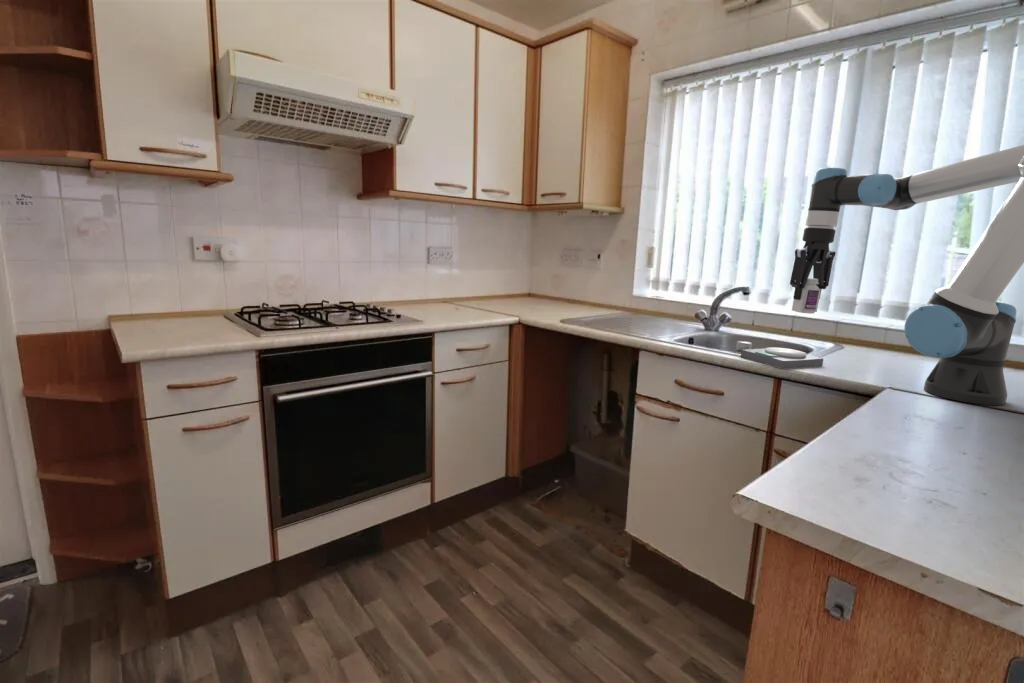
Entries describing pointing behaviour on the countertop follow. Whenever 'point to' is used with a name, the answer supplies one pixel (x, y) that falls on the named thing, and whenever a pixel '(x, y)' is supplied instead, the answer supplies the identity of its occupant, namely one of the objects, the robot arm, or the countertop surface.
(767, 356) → the scale
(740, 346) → the spacer
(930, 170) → the robot arm
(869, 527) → the countertop surface
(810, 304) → the pill bottle
